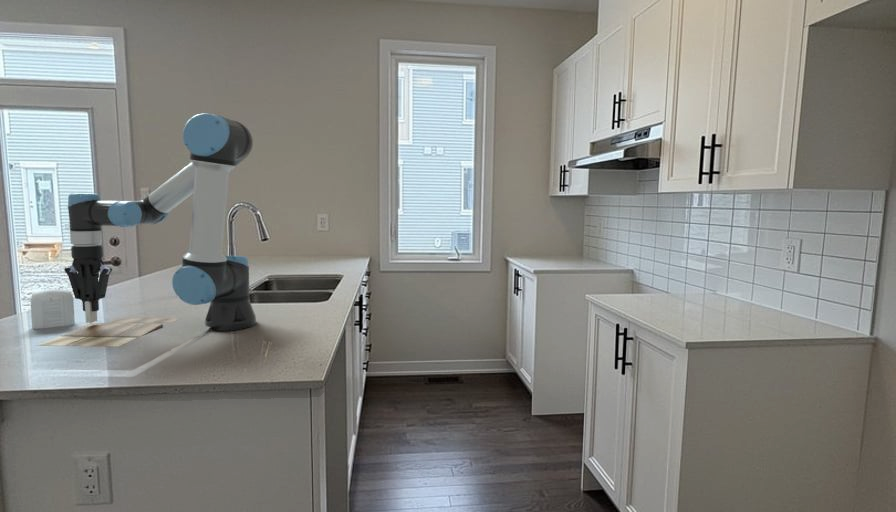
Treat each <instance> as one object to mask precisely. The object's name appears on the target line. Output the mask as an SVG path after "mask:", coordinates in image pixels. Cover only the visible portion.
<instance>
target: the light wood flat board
mask: <svg viewBox="0 0 896 512" xmlns="http://www.w3.org/2000/svg"><path fill="white" fill-rule="evenodd" d="M139 338H140V337H130V336H70V335H65V334H63V335H60V336H57V337H54V338H52V339H49V340H47V341H43V342H40V343H38V344H37V346H45V347H46V346H52V347H53V346H54V347H59V346H60V347H107V348H108V347H110V348H111V347H112V348H113V347H114V348H115V347H121V346H122V345H123V346H124V345H125V344H127V343H130V342H131V341H133V340H135V339H139Z"/></svg>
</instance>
